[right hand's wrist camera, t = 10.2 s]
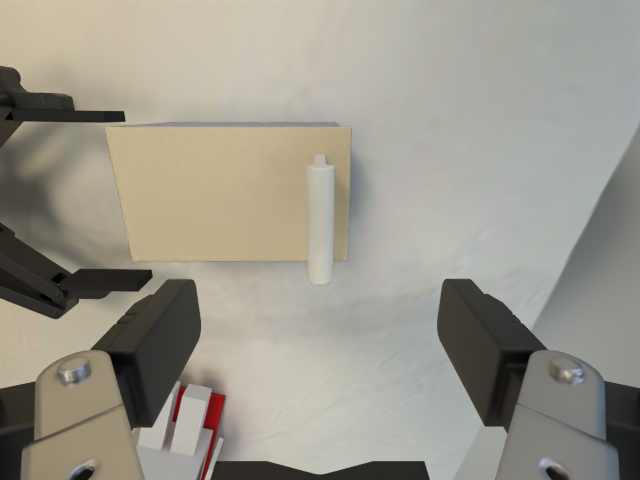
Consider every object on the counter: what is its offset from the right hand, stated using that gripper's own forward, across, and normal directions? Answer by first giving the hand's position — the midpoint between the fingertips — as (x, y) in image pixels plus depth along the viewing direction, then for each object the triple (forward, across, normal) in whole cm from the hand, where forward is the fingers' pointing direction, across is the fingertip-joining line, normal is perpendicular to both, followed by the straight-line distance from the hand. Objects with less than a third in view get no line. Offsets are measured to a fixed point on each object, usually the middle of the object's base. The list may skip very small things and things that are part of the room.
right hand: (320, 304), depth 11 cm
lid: (+15, -6, 0) cm, 16 cm away
